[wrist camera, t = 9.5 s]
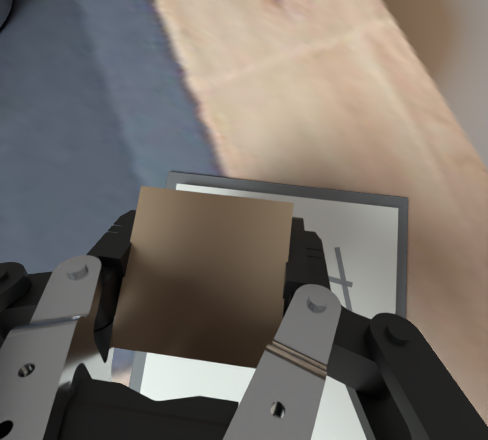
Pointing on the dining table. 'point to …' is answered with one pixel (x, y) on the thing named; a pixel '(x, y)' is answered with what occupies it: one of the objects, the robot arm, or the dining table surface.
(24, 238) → the dining table surface
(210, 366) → the board
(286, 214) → the block
